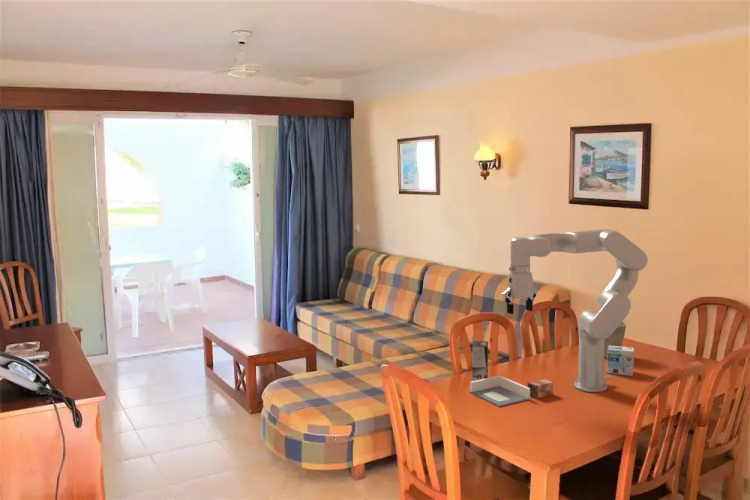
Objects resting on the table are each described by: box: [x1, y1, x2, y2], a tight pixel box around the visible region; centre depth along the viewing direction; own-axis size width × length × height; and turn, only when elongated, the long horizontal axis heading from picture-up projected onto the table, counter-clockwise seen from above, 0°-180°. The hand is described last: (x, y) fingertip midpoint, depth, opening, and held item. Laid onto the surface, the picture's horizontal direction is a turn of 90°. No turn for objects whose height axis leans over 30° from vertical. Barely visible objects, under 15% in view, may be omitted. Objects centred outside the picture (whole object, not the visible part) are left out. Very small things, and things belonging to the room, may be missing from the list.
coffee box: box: [471, 340, 489, 381], centre depth 268 cm, size 9×6×16 cm
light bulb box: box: [606, 345, 635, 377], centre depth 276 cm, size 11×7×11 cm, turn 68°
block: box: [527, 378, 554, 400], centre depth 251 cm, size 9×4×5 cm, turn 118°
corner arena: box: [469, 374, 531, 408], centre depth 251 cm, size 15×18×4 cm
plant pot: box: [604, 321, 627, 359], centre depth 299 cm, size 15×15×16 cm
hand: (519, 311), depth 254 cm, fingers open, 9 cm apart
